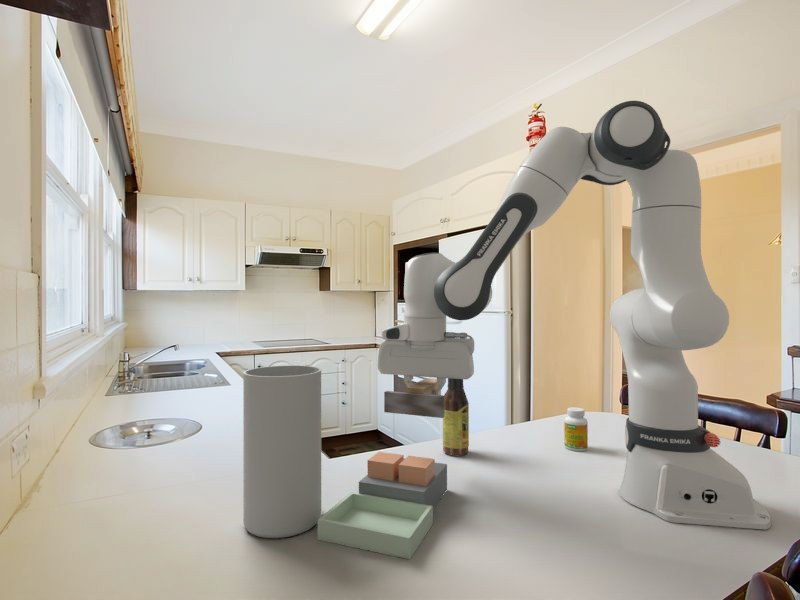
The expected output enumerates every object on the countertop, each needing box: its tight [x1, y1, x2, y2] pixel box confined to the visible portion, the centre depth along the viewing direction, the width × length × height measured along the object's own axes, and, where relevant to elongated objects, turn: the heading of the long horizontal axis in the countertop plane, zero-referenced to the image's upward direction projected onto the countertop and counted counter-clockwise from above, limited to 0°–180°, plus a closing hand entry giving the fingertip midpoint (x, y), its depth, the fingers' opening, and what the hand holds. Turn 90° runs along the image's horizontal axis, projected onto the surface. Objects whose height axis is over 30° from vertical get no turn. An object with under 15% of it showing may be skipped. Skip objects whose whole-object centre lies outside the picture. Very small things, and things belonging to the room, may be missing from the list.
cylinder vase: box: [242, 364, 322, 539], centre depth 76 cm, size 12×12×25 cm
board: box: [358, 457, 448, 510], centre depth 84 cm, size 12×14×5 cm
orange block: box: [367, 451, 404, 481], centre depth 83 cm, size 5×5×3 cm
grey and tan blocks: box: [383, 377, 445, 419], centre depth 94 cm, size 12×13×5 cm
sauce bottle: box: [442, 378, 470, 456], centre depth 110 cm, size 7×6×20 cm
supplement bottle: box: [563, 406, 589, 452], centre depth 113 cm, size 5×5×10 cm
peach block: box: [399, 455, 436, 486], centre depth 81 cm, size 5×5×3 cm
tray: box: [317, 491, 434, 560], centre depth 72 cm, size 15×11×3 cm
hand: (424, 398), depth 95 cm, fingers closed on grey and tan blocks, 3 cm apart
